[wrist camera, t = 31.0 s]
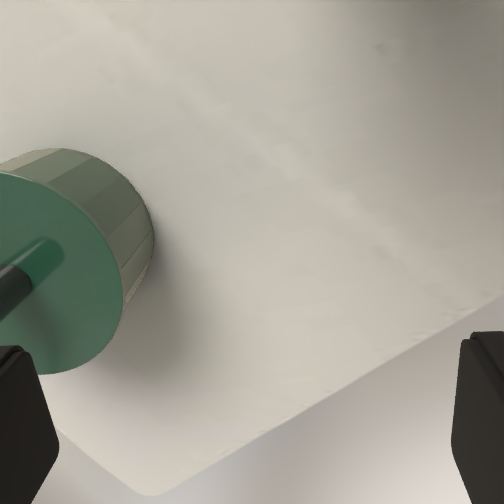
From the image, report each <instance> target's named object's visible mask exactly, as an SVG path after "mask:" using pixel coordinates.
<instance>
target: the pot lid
mask: <svg viewBox="0 0 504 504" xmlns="http://www.w3.org/2000/svg"><path fill="white" fill-rule="evenodd" d="M124 304H125V285H124V277H123V272H122V269H121V265H120V262H119V259H118V257H117V255H116V252H115V250H114V248H113V246H112V244H111V242H110V241H109V239H108V237H107V236H106V234H105V233H104V231H103V230H102V229H101V227H100V226H99V225H98V223H97V222H96V221H95V220H94V219H93V218H92V217H91V215H90V214H89V213H88V212H87V211H86V210H85V209H84V208H82V207H81V206H80V205H79V204H78V203H77V202H75V201H74V200H73V199H72V198H70V197H69V196H67V195H66V194H64V193H63V192H61V191H60V190H58V189H57V188H55V187H53V186H51V185H49V184H47V183H45V182H43V181H40V180H38V179H35V178H33V177H30V176H27V175H23V174H20V173H16V172H12V171H4V170H0V346H5V345H19V346H21V347H22V348H23V349H24V350H25V351H26V352H29V353H30V354H31V357H32V359H33V362H34V366H35V369H36V372H37V375H44V374H55V373H59V372H64V371H68V370H71V369H74V368H76V367H79V366H81V365H83V364H84V363H86V362H88V361H90V360H91V359H92V358H94V357H95V356H97V355H98V354H99V353H100V352H101V351H102V350H103V349H104V348H105V347H106V346H107V344H108V343H109V341H110V340H111V339H112V337H113V336H114V334H115V332H116V330H117V328H118V326H119V324H120V321H121V318H122V315H123V310H124Z"/></svg>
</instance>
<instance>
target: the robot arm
mask: <svg viewBox="0 0 504 504" xmlns="http://www.w3.org/2000/svg"><path fill="white" fill-rule="evenodd" d="M451 447H452V453H453V456H454V460H455V462H456V465H457V467H458V469H459V472H460V475H461V477H462V480H463V482H464V485H465V487H466V490H467V492H468V495H469V498H470V500H471V503H472V504H504V332H503V331H490V332H473V333H472V334H471V336H470V339H464V340H463V341H462V343H461V348H460V358H459V367H458V377H457V388H456V396H455V406H454V416H453V425H452V435H451ZM58 453H59V441H58V437H57V434H56V431H55V428H54V425H53V422H52V419H51V415H50V412H49V409H48V406H47V403H46V400H45V397H44V394H43V390H42V387H41V384H40V381H39V378H38V375H37V372H36V369H35V366H34V362H33V359H32V357H31V354H30V353H29V352H26V351H25V350H24V349H23V348H22V347H21V346H19V345H5V346H0V504H31V503H32V501H33V499H34V498H35V496H36V494H37V492H38V490H39V489H40V487H41V485H42V483H43V482H44V480H45V478H46V476H47V475H48V473H49V471H50V469H51V468H52V466H53V464H54V463H55V461H56V459H57V457H58Z"/></svg>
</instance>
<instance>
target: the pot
mask: <svg viewBox="0 0 504 504" xmlns="http://www.w3.org/2000/svg"><path fill="white" fill-rule="evenodd" d="M0 170H4V171H12V172H16V173H20V174H23V175H27V176H30V177H33V178H35V179H38V180H40V181H43V182H45V183H47V184H49V185H51V186H53V187H55V188H57V189H58V190H60V191H61V192H63V193H64V194H66V195H67V196H69V197H70V198H72V199H73V200H74V201H75V202H77V203H78V204H79V205H80V206H81V207H82V208H84V209H85V210H86V211H87V212H88V213H89V214H90V215H91V217H92V218H93V219H94V220H95V221H96V222H97V223H98V225H99V226H100V227H101V229H102V230H103V231H104V233H105V234H106V236H107V237H108V239H109V241H110V242H111V244H112V246H113V248H114V250H115V252H116V255H117V257H118V259H119V262H120V265H121V269H122V272H123V277H124V285H125V304H124V307H125V306H126V304H127V303H128V301H129V300H130V298H131V297H132V295H133V293H134V292H135V290H136V289H137V287H138V286H139V284H140V283H141V281H142V279H143V277H144V275H145V272H146V270H147V268H148V266H149V263H150V260H151V258H152V251H153V229H152V224H151V220H150V217H149V214H148V211H147V209H146V206H145V205H144V203H143V201H142V199H141V197H140V196H139V194H138V193H137V191H136V190H135V188H134V187H133V186H132V185H131V184H130V183H129V181H128V180H127V179H126V178H125V177H124V176H123V175H121V174H120V173H119V172H118V171H117V170H116V169H114V168H113V167H111V166H110V165H109V164H107V163H105V162H104V161H102V160H100V159H98V158H96V157H94V156H91V155H89V154H86V153H83V152H79V151H75V150H69V149H45V150H38V151H32V152H29V153H27V154H24V155H22V156H19V157H16V158H14V159H11V160H9V161H6V162H4V163H1V164H0Z"/></svg>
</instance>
